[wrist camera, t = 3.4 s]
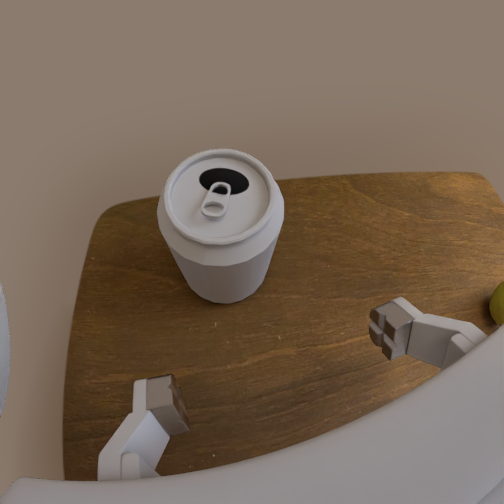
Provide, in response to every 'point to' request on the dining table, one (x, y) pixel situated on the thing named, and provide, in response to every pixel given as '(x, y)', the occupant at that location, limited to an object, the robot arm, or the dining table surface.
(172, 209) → the can
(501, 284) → the fruit
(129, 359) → the dining table surface
